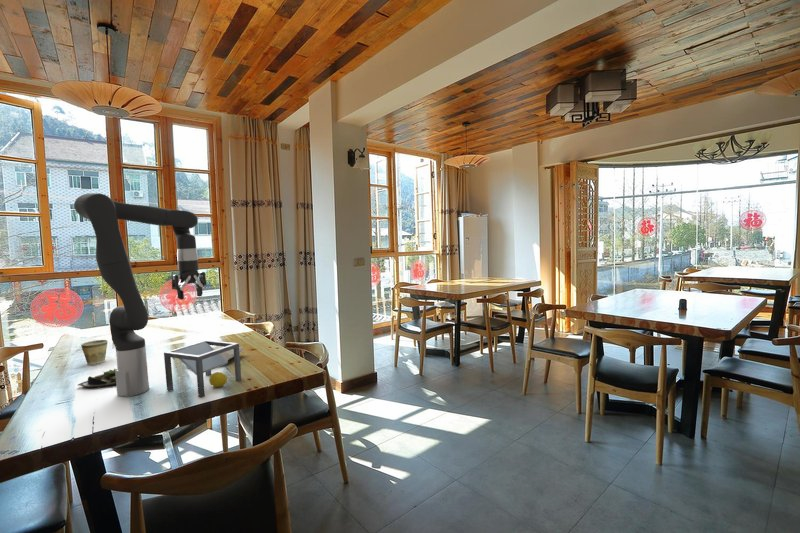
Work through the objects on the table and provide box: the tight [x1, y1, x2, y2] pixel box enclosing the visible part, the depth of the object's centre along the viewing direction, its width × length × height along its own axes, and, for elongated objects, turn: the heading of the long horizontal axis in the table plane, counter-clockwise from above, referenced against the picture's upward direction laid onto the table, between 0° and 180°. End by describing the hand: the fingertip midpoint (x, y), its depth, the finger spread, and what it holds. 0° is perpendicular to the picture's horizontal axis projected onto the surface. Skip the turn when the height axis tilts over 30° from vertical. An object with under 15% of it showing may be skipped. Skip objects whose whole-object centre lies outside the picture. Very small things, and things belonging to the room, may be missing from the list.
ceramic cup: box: [80, 339, 108, 366], centre depth 187 cm, size 13×10×10 cm
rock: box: [212, 345, 244, 362], centre depth 179 cm, size 19×7×25 cm
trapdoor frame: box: [163, 339, 242, 398], centre depth 150 cm, size 19×19×15 cm
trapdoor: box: [174, 342, 229, 376], centre depth 150 cm, size 14×14×1 cm
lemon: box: [208, 371, 228, 388], centre depth 148 cm, size 6×6×8 cm
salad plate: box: [77, 368, 118, 390], centre depth 161 cm, size 19×18×5 cm
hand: (190, 297), depth 161 cm, fingers open, 8 cm apart
